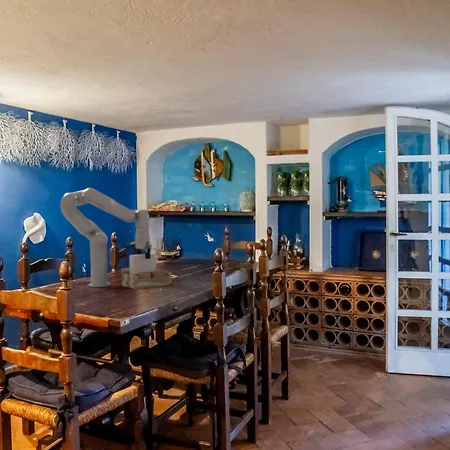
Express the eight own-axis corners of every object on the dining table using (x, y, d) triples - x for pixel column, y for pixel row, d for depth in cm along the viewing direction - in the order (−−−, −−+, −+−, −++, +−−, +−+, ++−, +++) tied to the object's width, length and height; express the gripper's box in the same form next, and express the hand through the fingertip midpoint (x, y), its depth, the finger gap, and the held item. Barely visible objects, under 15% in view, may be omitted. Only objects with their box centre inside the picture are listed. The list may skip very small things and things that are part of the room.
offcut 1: (135, 287, 289) (135, 273, 289) (146, 285, 294) (146, 272, 294) (138, 287, 286) (138, 274, 286) (150, 286, 291) (150, 272, 291)
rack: (121, 285, 295) (121, 268, 294) (155, 280, 311) (155, 265, 310) (136, 288, 282) (135, 271, 282) (171, 284, 298) (170, 267, 298)
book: (136, 282, 302) (134, 242, 301) (125, 283, 304) (123, 242, 303) (148, 277, 323) (146, 239, 322) (138, 277, 325) (136, 239, 324)
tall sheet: (129, 285, 295) (129, 255, 295) (152, 282, 306) (152, 253, 305) (133, 286, 292) (133, 255, 292) (156, 283, 303) (155, 253, 302)
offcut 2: (149, 285, 296) (149, 271, 295) (160, 283, 301) (160, 270, 301) (153, 285, 293) (153, 272, 292) (164, 284, 298) (164, 271, 298)
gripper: (129, 230, 302) (130, 257, 303) (145, 230, 289) (146, 259, 290) (140, 229, 307) (141, 256, 308) (155, 230, 294) (156, 258, 295)
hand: (143, 258), depth 299 cm, fingers open, 9 cm apart
